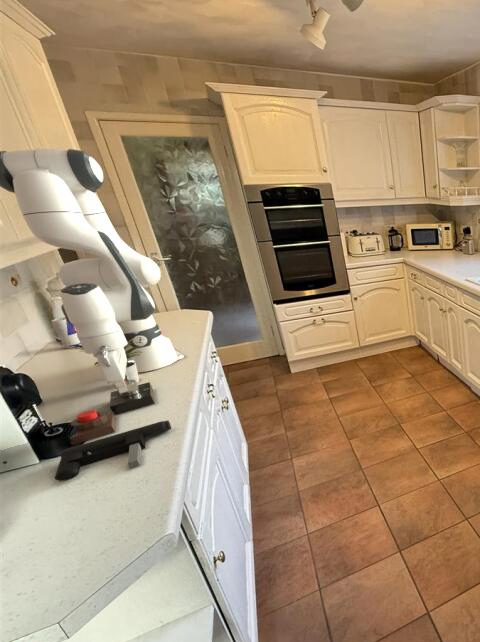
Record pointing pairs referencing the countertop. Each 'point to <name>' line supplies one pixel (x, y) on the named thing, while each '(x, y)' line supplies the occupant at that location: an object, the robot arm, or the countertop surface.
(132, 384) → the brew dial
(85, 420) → the power button
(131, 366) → the house plant
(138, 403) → the dial panel
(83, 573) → the countertop surface
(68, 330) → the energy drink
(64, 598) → the countertop surface
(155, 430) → the black gun
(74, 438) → the power base
